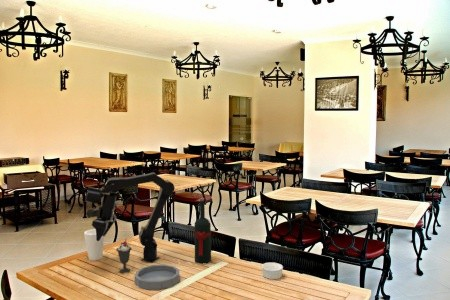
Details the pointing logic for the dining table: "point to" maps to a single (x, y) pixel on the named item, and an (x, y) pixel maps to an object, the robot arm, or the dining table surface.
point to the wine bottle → (202, 237)
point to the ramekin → (272, 270)
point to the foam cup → (93, 245)
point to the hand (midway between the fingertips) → (100, 238)
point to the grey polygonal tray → (157, 277)
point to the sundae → (124, 256)
